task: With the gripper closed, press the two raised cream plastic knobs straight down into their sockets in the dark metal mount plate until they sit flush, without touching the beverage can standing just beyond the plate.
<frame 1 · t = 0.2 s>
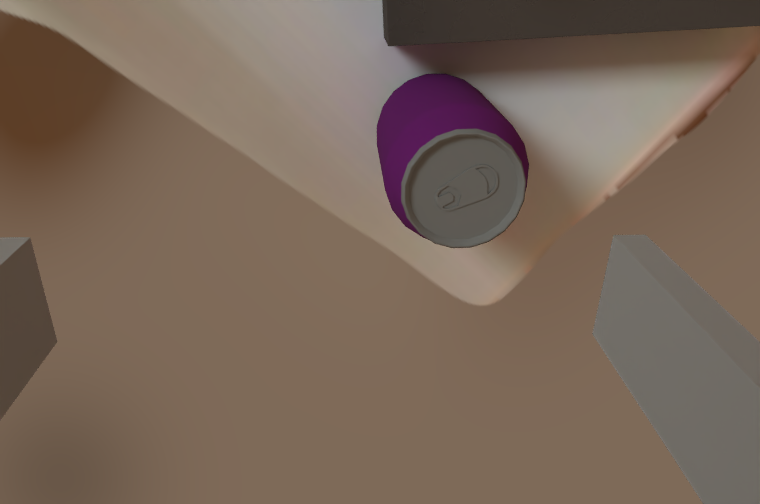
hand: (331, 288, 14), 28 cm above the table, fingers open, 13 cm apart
beverage can: (431, 127, 41), on the table
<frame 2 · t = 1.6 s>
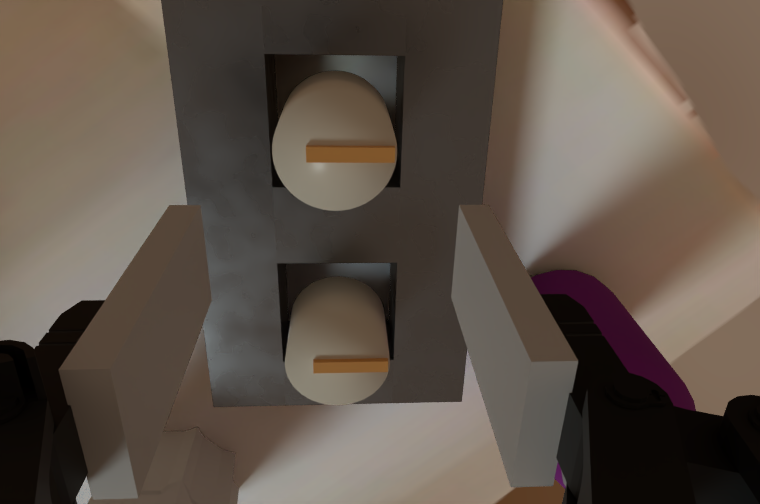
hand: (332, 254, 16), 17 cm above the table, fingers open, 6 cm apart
cup: (179, 469, 41), on the table
knob 2: (335, 139, 25), point 6 cm above the table, slide at 4.0 cm
mount plate: (337, 196, 33), on the table
beverage can: (549, 315, 38), on the table
knob 1: (337, 340, 29), point 6 cm above the table, slide at 4.0 cm
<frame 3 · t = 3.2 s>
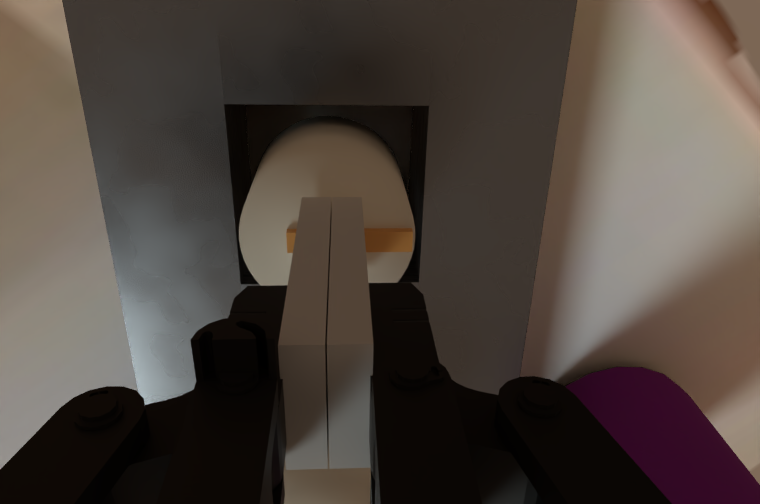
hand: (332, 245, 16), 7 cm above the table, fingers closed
knob 2: (328, 212, 18), point 5 cm above the table, slide at 2.5 cm, touching gripper
mount plate: (332, 278, 25), on the table
beverage can: (602, 417, 30), on the table
knob 1: (332, 490, 21), point 6 cm above the table, slide at 4.0 cm
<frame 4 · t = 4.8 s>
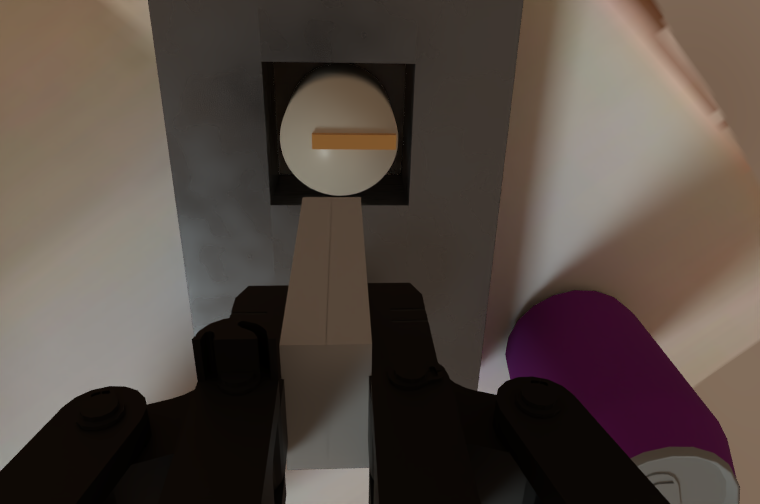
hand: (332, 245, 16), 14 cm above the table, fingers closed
knob 2: (339, 128, 26), point 2 cm above the table, slide at 0.1 cm
mount plate: (340, 212, 31), on the table
beverage can: (565, 337, 35), on the table
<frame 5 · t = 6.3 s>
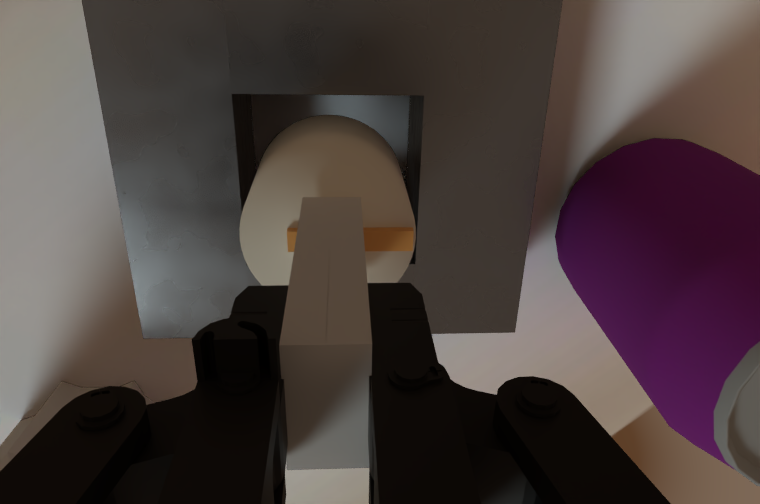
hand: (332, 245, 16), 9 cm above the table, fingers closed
cup: (112, 442, 30), on the table
mount plate: (329, 14, 22), on the table
beverage can: (634, 216, 26), on the table
knob 1: (329, 211, 18), point 6 cm above the table, slide at 3.8 cm, touching gripper
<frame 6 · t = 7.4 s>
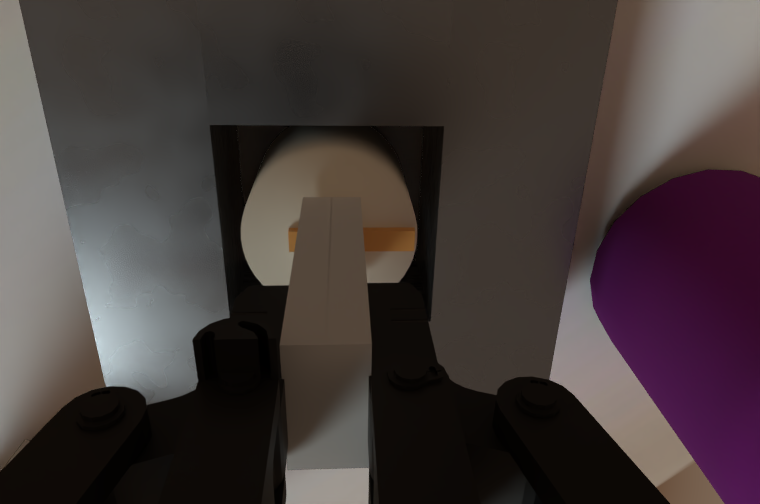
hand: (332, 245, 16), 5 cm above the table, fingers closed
mount plate: (329, 25, 18), on the table
beverage can: (679, 256, 23), on the table
knob 1: (330, 211, 18), point 3 cm above the table, slide at 0.1 cm, touching gripper
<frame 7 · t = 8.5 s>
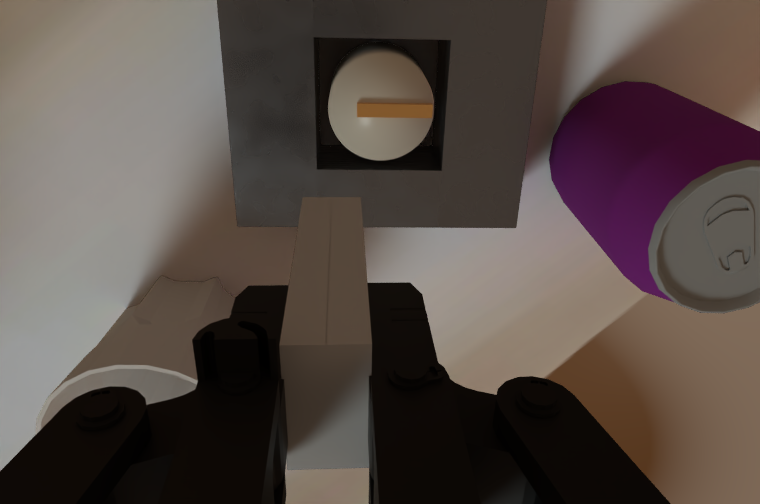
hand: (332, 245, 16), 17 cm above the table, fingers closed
cup: (196, 330, 38), on the table
beverage can: (612, 147, 33), on the table
knob 1: (379, 100, 29), point 2 cm above the table, slide at 0.1 cm
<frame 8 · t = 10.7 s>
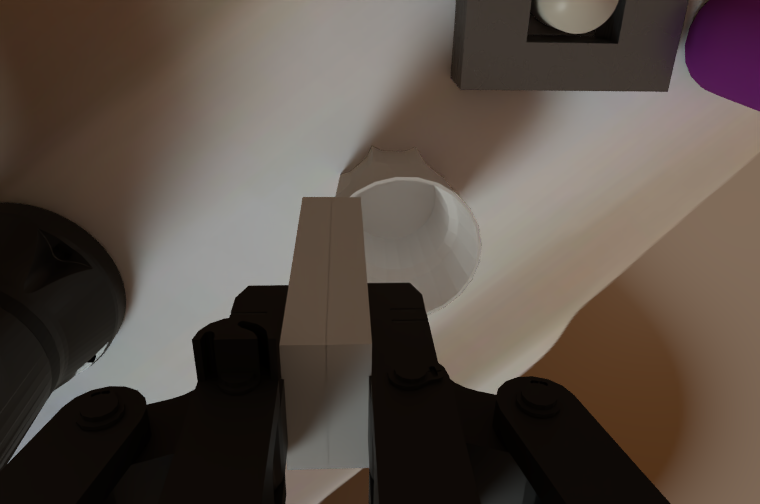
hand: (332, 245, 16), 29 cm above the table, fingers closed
cup: (390, 194, 47), on the table
beverage can: (730, 37, 43), on the table
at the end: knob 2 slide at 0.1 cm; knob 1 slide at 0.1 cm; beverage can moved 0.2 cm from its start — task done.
